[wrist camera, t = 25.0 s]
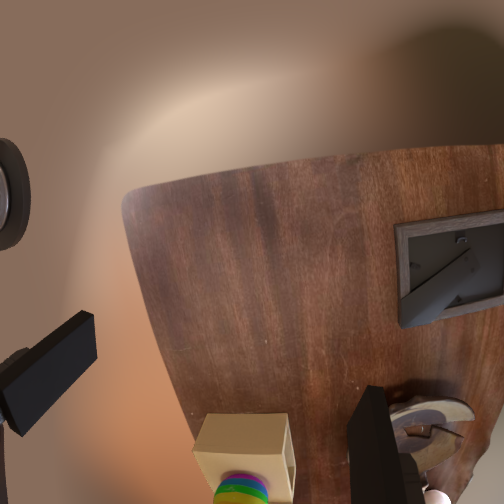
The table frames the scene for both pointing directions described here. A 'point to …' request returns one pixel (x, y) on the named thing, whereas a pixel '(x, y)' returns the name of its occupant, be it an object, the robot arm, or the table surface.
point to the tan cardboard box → (248, 451)
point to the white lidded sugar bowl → (436, 497)
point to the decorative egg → (241, 490)
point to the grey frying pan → (440, 440)
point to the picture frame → (449, 266)
